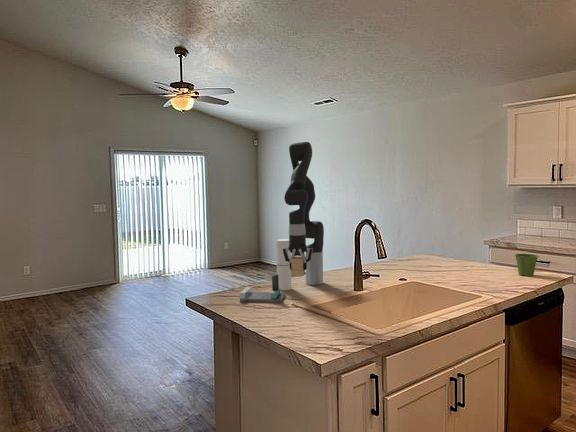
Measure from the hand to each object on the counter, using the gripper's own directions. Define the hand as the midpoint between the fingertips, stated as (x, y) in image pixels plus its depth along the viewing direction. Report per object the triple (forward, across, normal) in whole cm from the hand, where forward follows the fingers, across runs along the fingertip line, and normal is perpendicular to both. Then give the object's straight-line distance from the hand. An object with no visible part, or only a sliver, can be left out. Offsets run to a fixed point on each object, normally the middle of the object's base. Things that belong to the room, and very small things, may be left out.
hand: (298, 270), depth 198 cm
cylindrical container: (+14, +10, -20) cm, 26 cm away
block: (+2, 0, 0) cm, 2 cm away
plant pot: (+16, -119, -62) cm, 135 cm away
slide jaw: (+12, +11, 0) cm, 16 cm away
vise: (+14, +17, 0) cm, 22 cm away
